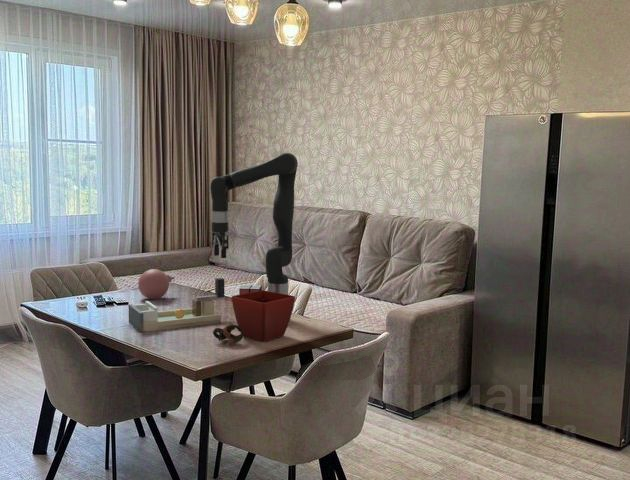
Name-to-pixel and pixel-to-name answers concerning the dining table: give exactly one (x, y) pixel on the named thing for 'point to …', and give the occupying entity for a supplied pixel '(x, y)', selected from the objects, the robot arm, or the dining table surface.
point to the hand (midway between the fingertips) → (220, 256)
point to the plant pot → (263, 314)
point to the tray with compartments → (169, 317)
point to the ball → (179, 313)
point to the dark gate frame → (208, 297)
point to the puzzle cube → (249, 289)
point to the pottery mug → (228, 334)
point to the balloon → (154, 283)
